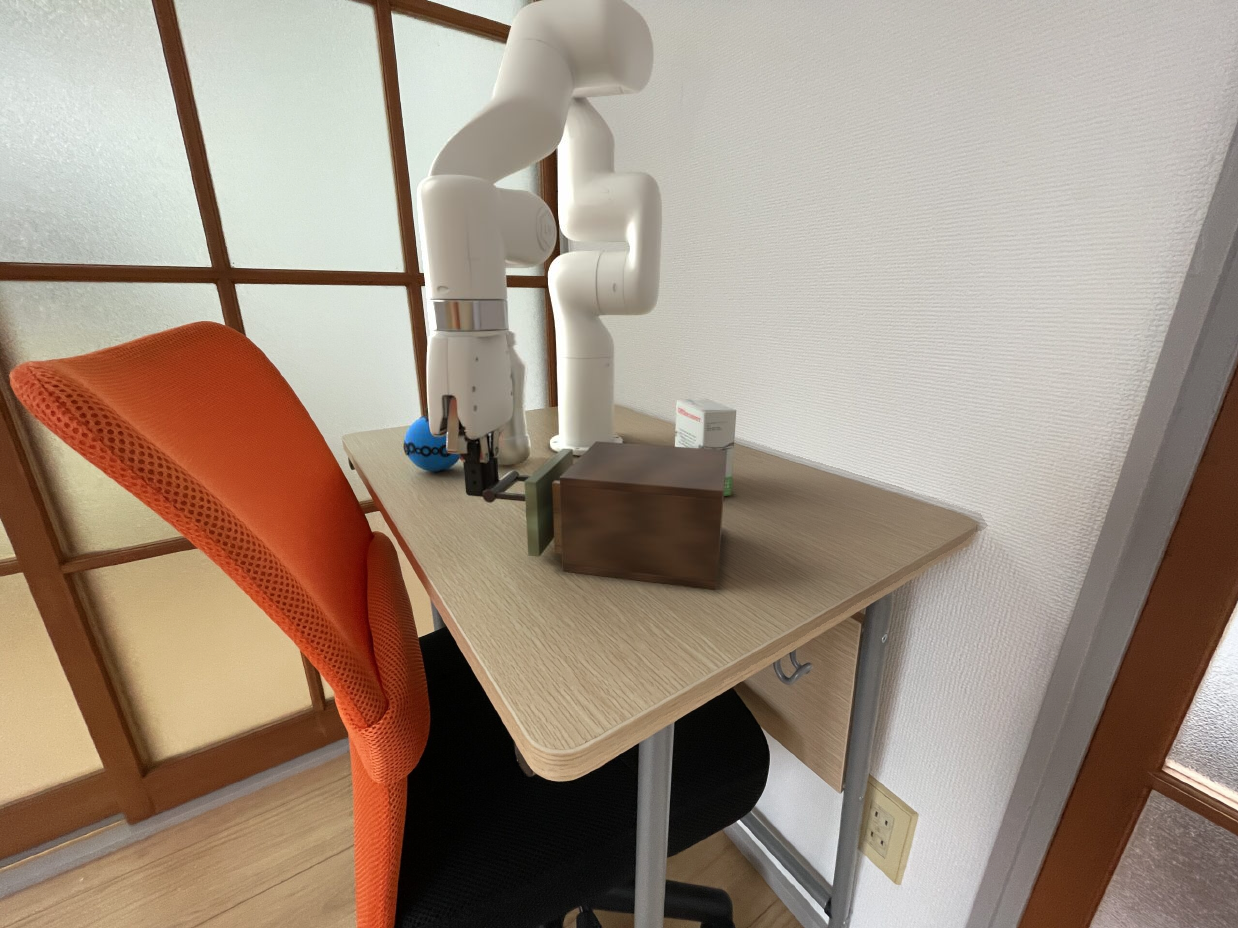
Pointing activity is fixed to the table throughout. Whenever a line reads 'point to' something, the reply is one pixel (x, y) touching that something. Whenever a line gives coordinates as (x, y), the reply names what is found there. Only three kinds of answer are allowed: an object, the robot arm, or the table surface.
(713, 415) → the ink box
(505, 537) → the table surface
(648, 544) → the cabinet
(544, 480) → the drawer
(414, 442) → the ornament
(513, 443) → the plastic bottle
